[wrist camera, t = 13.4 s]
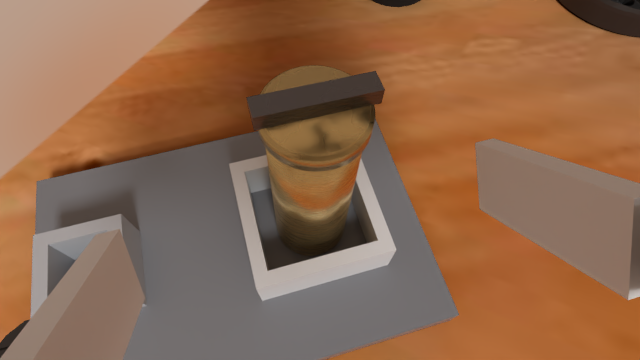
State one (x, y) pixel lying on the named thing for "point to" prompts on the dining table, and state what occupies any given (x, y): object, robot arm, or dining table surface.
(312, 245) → the amber translucent cylinder
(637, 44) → the dining table surface
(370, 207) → the board
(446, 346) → the dining table surface
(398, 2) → the caster wheel
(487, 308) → the dining table surface
